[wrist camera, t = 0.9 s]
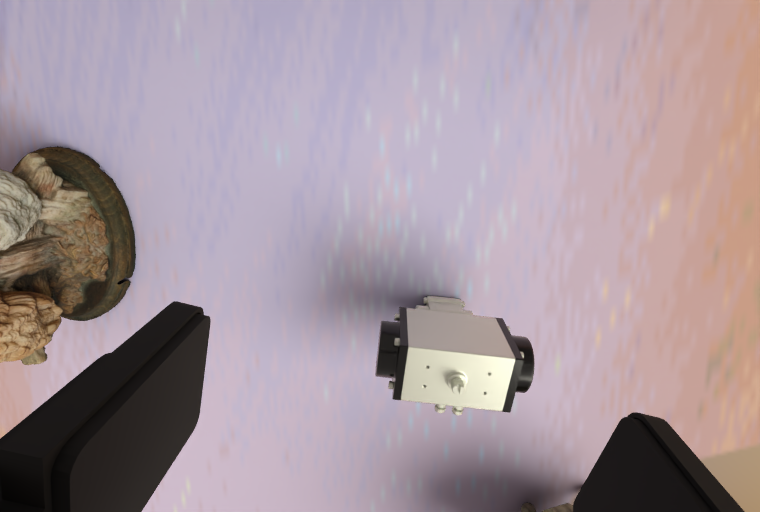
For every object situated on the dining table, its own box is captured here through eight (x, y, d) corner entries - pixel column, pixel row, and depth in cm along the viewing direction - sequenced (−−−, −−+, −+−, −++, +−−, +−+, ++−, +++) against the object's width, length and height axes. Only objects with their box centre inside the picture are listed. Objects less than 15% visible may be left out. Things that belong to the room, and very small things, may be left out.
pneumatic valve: (384, 283, 39) (379, 352, 27) (505, 296, 39) (550, 371, 27) (378, 333, 41) (371, 417, 29) (493, 346, 41) (531, 435, 29)
